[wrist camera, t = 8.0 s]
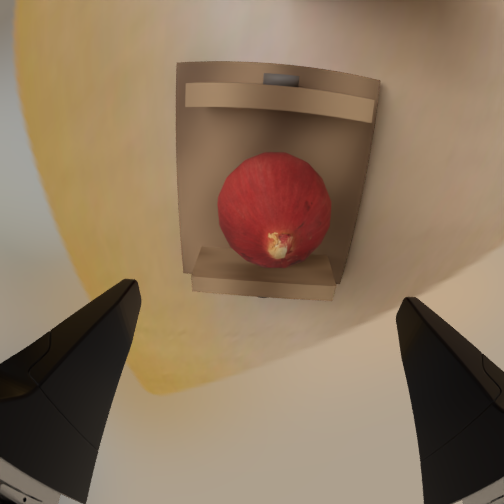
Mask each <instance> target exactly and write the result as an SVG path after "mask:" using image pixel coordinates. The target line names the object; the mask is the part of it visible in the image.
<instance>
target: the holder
mask: <svg viewBox="0 0 504 504" xmlns="http://www.w3.org/2000/svg"><path fill="white" fill-rule="evenodd" d="M379 89H380V80H376V79H372V78H367V77H363V76H358V75H353V74H348V73H342V72H337V71H331V70H325V69H318V68H311V67H303V66H294V65H284V64H273V63H258V62H230V61H208V62H181V63H177V69H176V159H177V186H178V206H179V222H180V237H181V250H182V262H183V273H189V274H192V276H191V280H192V291H195V292H206V293H218V294H230V295H243V296H257V297H260V298H267V297H272V298H288V299H307V300H327V301H332V300H333V296H334V293H335V289H336V284H340V282H341V278H342V275H343V271H344V267H345V264H346V260H347V256H348V252H349V248H350V244H351V241H352V236H353V232H354V228H355V224H356V220H357V215H358V211H359V206H360V202H361V197H362V192H363V188H364V183H365V178H366V173H367V167H368V162H369V156H370V151H371V145H372V139H373V133H374V126H375V119H376V112H377V105H378V97H379ZM264 152H286V153H288V154H291V155H293V156H295V157H297V158H300V159H302V160H304V161H306V162H307V163H309V164H310V165H311V167H312V168H313V169H314V170H315V171H316V172H317V173H318V174H319V175H320V176H321V177H322V179H323V182H324V184H325V187H326V189H327V192H328V194H329V197H330V200H331V218H330V227H329V229H328V231H327V233H326V235H325V237H324V239H323V241H322V243H321V244H320V245H319V246H318V247H317V248H316V249H315V250H314V251H313V252H312V253H311V254H310V255H309V256H308V258H307V259H306V260H305V261H303V262H300V263H297V264H295V265H292V266H289V267H286V268H263V267H260V266H258V265H255V264H253V263H250V262H248V261H246V260H245V259H244V258H242V257H241V256H240V255H239V254H238V253H237V252H236V251H234V250H233V249H232V248H231V247H230V245H229V243H228V242H227V240H226V238H225V236H224V234H223V232H222V230H221V228H220V226H219V217H218V205H217V204H218V196H219V193H220V191H221V189H222V186H223V184H224V182H225V180H226V178H227V177H228V176H229V174H230V173H231V172H233V171H234V170H235V169H236V168H237V167H238V166H239V165H240V164H241V163H242V162H243V161H244V160H246V159H249V158H251V157H254V156H256V155H259V154H262V153H264Z"/></svg>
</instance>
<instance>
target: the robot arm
mask: <svg viewBox="0 0 504 504" xmlns="http://www.w3.org/2000/svg"><path fill="white" fill-rule="evenodd" d="M140 307H141V295H140V291H139V286H138V282H137V281H136V280H135V279H124V280H122V281H121V282H119V283H118V284H116V285H115V286H113V287H112V288H110V289H109V290H107V291H106V292H104V293H103V294H101V295H100V296H98V297H97V298H96V299H94V300H93V301H91V302H90V303H88V304H87V305H85V306H84V307H83V308H81V309H80V310H78V311H77V312H75V313H74V314H73V315H71V316H70V317H68V318H67V319H66V320H64V321H63V322H61V323H60V324H59V325H57V326H56V327H55V328H53V329H52V330H51V332H50V331H49V332H47V333H46V334H45V335H43V336H42V337H41V338H39V339H38V340H36V341H35V342H33V343H32V344H31V345H29V346H27V347H26V348H24V349H23V350H21V351H20V352H18V353H17V354H15V355H13V356H12V357H10V358H9V359H7V360H5V361H4V362H2V363H1V364H0V504H58V502H59V498H60V495H61V494H62V495H64V496H66V497H68V498H71V499H73V500H75V501H78V502H80V503H83V504H86V501H87V497H88V492H89V487H90V483H91V478H92V475H93V470H94V466H95V462H96V458H97V454H98V449H99V446H100V442H101V439H102V435H103V432H104V428H105V424H106V421H107V418H108V414H109V411H110V408H111V404H112V401H113V398H114V395H115V392H116V388H117V385H118V382H119V379H120V376H121V373H122V370H123V367H124V364H125V361H126V359H127V356H128V353H129V350H130V347H131V344H132V340H133V336H134V332H135V328H136V323H137V319H138V315H139V311H140ZM396 324H397V330H398V336H399V343H400V351H401V357H402V362H403V366H404V371H405V375H406V379H407V384H408V388H409V393H410V399H411V404H412V410H413V414H414V421H415V427H416V433H417V439H418V447H419V455H420V461H421V473H422V483H423V496H424V504H454V503H456V502H458V501H461V500H462V501H463V504H504V372H503V371H502V370H501V369H500V368H499V367H497V366H496V365H495V364H494V363H493V362H492V361H490V360H489V359H488V358H487V357H486V356H485V355H484V354H482V353H481V352H480V351H479V350H478V349H477V348H476V347H475V346H474V345H473V344H471V343H470V342H469V341H468V340H467V339H466V338H464V337H463V336H462V335H461V334H460V333H459V332H457V331H456V330H455V329H454V328H453V327H452V326H450V325H449V324H448V323H447V322H446V321H444V320H443V319H442V318H441V317H439V316H438V315H437V314H436V313H435V312H433V311H432V310H431V309H430V308H429V307H427V306H426V305H424V303H422V302H421V301H420V300H419V299H417V298H416V297H405V298H404V300H403V302H402V304H401V306H400V308H399V311H398V313H397V315H396Z"/></svg>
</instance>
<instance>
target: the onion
mask: <svg viewBox="0 0 504 504" xmlns="http://www.w3.org/2000/svg"><path fill="white" fill-rule="evenodd" d="M217 205H218V217H219V226H220V228H221V230H222V232H223V234H224V236H225V238H226V240H227V242H228V243H229V245H230V247H231V248H232V249H233V250H234V251H236V252H237V253H238V254H239V255H240V256H241V257H242V258H244V259H245V260H246V261H248V262H250V263H253V264H255V265H258V266H260V267H263V268H286V267H289V266H292V265H295V264H297V263H300V262H303V261H305V260H306V259H307V258H308V256H309V255H310V254H311V253H312V252H313V251H314V250H315V249H316V248H317V247H318V246H319V245H320V244H321V243H322V241H323V239H324V237H325V235H326V233H327V231H328V229H329V227H330V218H331V200H330V197H329V194H328V192H327V189H326V187H325V184H324V182H323V179H322V177H321V176H320V175H319V174H318V173H317V172H316V171H315V170H314V169H313V168H312V167H311V165H310V164H309V163H307V162H306V161H304V160H302V159H300V158H297V157H295V156H293V155H291V154H288V153H286V152H264V153H262V154H259V155H256V156H254V157H251V158H249V159H246V160H244V161H243V162H242V163H241V164H240V165H239V166H238V167H237V168H236V169H235V170H234V171H233V172H231V173H230V174H229V176H228V177H227V178H226V180H225V182H224V184H223V186H222V189H221V191H220V193H219V196H218V204H217Z"/></svg>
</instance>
